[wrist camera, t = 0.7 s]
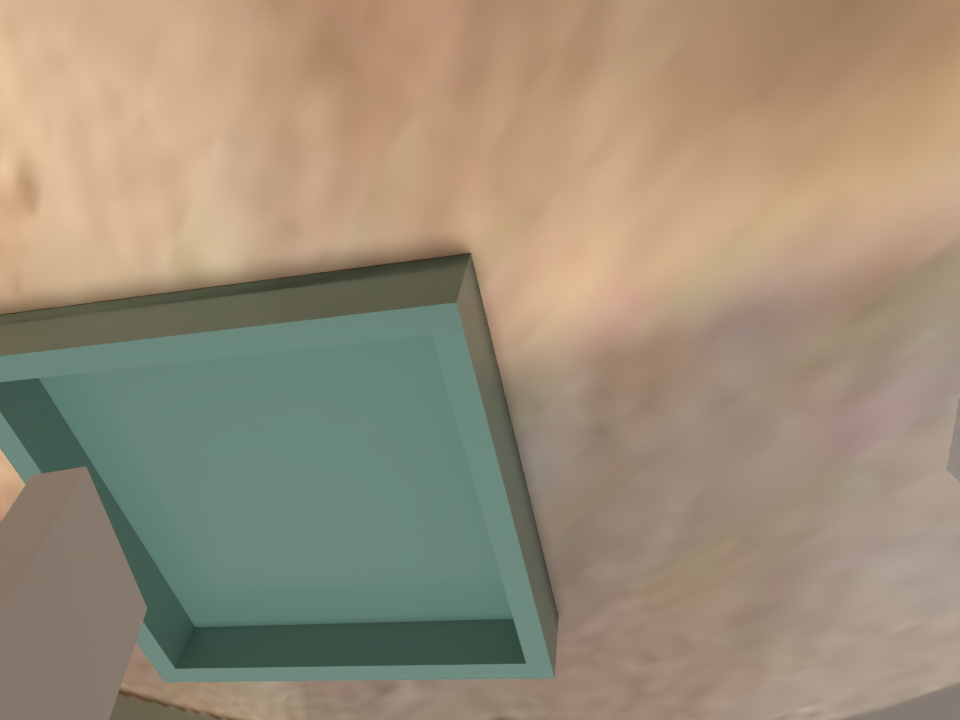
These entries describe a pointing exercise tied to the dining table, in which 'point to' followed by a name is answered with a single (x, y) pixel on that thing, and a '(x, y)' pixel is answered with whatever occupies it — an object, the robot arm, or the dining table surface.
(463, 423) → the tray
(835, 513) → the dining table surface
